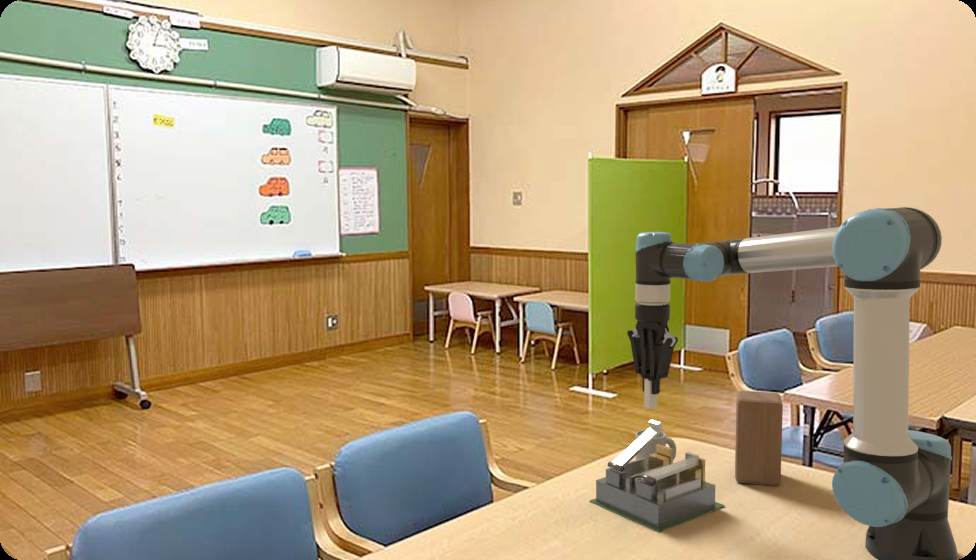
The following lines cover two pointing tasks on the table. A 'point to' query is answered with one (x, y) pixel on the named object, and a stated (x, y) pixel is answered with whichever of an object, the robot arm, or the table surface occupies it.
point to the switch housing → (657, 492)
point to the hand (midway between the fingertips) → (650, 407)
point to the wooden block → (758, 438)
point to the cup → (651, 446)
